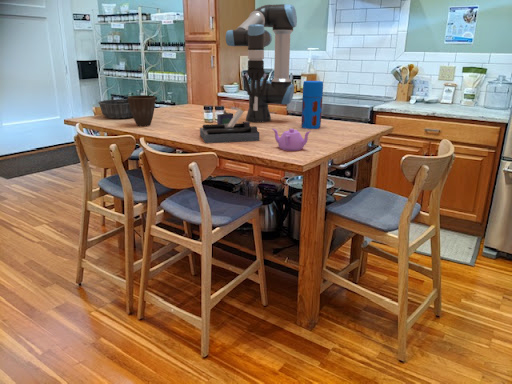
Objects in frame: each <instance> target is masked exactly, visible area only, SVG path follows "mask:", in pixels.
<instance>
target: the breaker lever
mask: <svg viewBox="0 0 512 384" xmlns="http://www.w3.org/2000/svg"><path fill="white" fill-rule="evenodd" d="M245 111H246V109H245V108H244V107H242V106H239V107H238V109H237V110H236V112H235V114H233V118H232V119H231V121H230V122H229V124H228V126H235V124H238V123H237V122H238V121H239V119H240V118H241V117H242V115H243V114H244V112H245Z"/></svg>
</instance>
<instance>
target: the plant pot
mask: <svg viewBox="0 0 512 384" xmlns="http://www.w3.org/2000/svg"><path fill="white" fill-rule="evenodd" d="M156 98H157V97H156V95H155V96H154V95H145V94H143V95H138V94H137V95H129V96H127V99H128V101H129V105H130V109H131V112H132V115H133V117H132V118H133V120H134V122H135V124H136V126H137V127H149V126H150V127H151V124H152V121H153V118H154V113H155V108H156V107H155V106H156Z"/></svg>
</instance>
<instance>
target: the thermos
mask: <svg viewBox="0 0 512 384" xmlns="http://www.w3.org/2000/svg"><path fill="white" fill-rule="evenodd" d="M302 83H303V85H302V105H301V106H302V107H301V128H302V129H307V130H318V129H320V128H321V124H322V109H323V95H324V93H323V92H324V81H321V80H304V81H303V82H302Z"/></svg>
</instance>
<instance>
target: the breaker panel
mask: <svg viewBox="0 0 512 384" xmlns="http://www.w3.org/2000/svg"><path fill="white" fill-rule="evenodd" d="M199 136H200V138H201V139H202V141H203V142H204V143H205V144H222V143H241V142H258V141H259V142H260V131H259V130H258V126H251V122H249V121H242V122H241V123H240V122H239V123H236V124H235V126H228V124H217V123H216V124H215V123H213V124H211V123H210V124H203V125H202V127H199Z"/></svg>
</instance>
